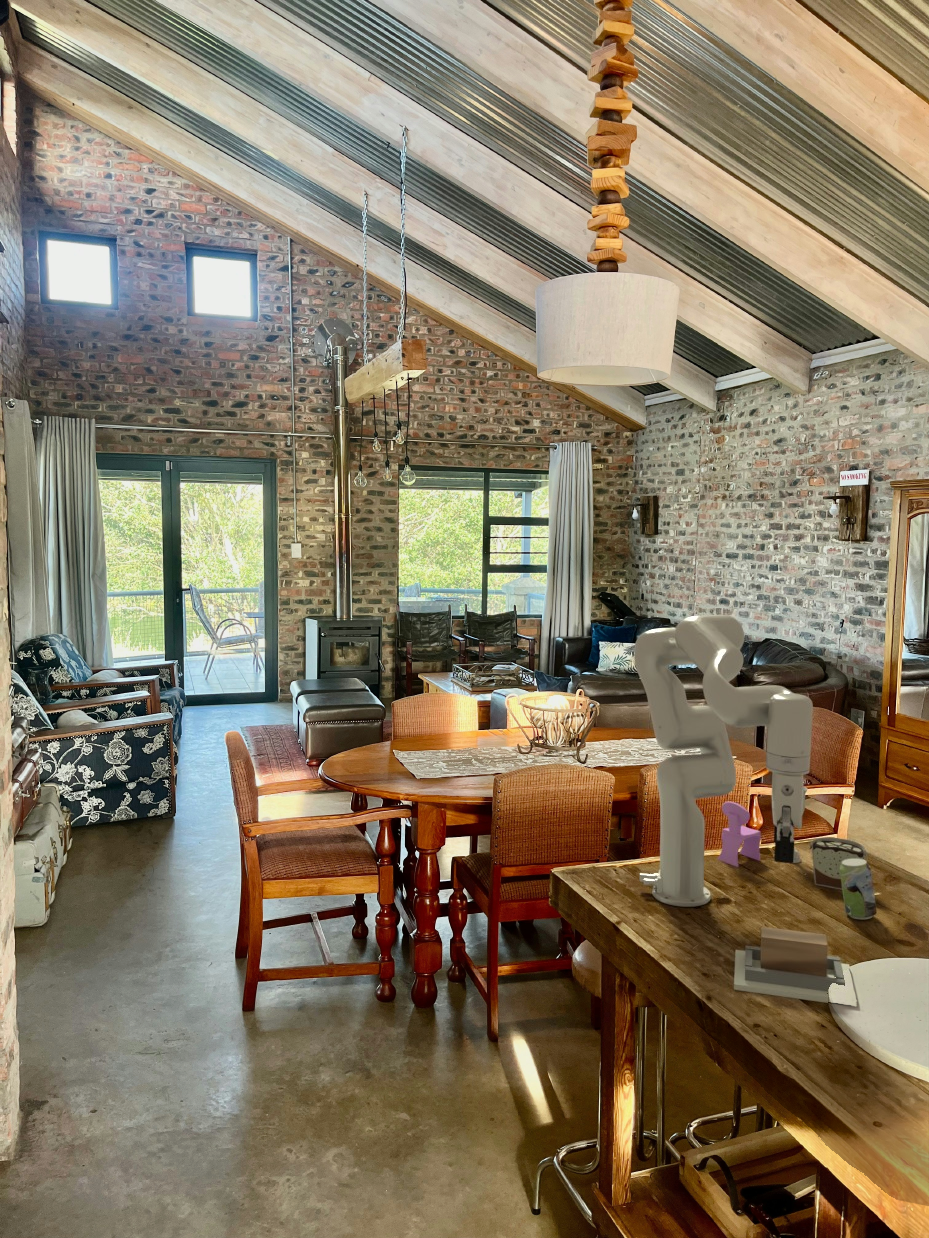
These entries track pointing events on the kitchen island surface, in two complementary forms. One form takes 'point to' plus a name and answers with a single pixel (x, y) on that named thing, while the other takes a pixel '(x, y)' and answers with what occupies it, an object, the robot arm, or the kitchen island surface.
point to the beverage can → (857, 888)
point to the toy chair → (738, 835)
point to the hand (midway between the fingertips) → (783, 852)
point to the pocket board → (784, 978)
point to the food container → (833, 859)
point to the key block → (793, 951)
